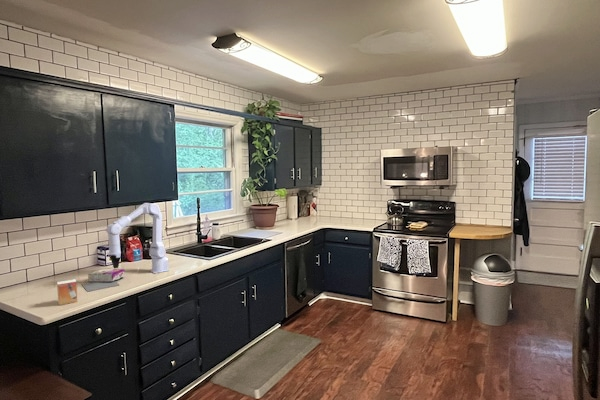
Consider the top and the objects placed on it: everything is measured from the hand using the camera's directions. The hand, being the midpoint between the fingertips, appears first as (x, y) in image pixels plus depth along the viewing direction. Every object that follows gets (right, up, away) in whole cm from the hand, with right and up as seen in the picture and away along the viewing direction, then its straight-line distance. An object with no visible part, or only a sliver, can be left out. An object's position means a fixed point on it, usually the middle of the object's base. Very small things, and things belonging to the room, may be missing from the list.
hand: (115, 267), depth 216 cm
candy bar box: (0, -5, +3) cm, 6 cm away
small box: (-9, -12, -31) cm, 34 cm away
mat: (-6, -9, -5) cm, 12 cm away
